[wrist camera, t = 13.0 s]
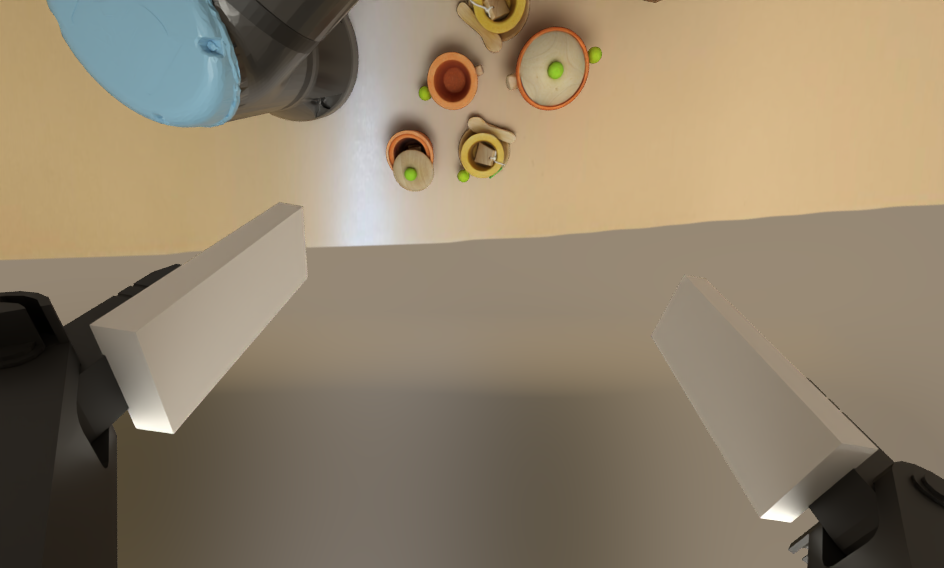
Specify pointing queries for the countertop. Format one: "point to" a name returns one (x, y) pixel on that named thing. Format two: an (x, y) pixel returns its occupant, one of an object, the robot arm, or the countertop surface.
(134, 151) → the countertop surface
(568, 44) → the toy tea set
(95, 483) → the robot arm
